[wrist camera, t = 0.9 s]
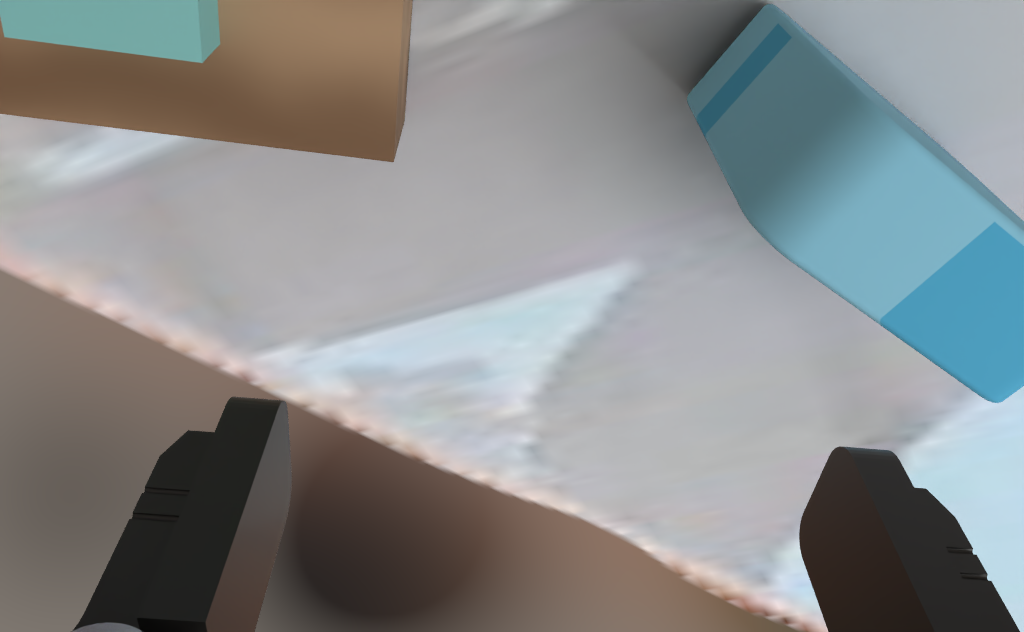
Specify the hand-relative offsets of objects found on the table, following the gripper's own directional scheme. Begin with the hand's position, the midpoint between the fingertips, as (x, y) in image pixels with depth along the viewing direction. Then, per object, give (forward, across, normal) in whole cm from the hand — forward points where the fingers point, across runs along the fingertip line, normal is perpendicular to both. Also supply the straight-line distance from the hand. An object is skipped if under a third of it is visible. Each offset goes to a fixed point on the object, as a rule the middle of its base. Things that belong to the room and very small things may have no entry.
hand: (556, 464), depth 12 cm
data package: (+24, -13, +3) cm, 27 cm away
